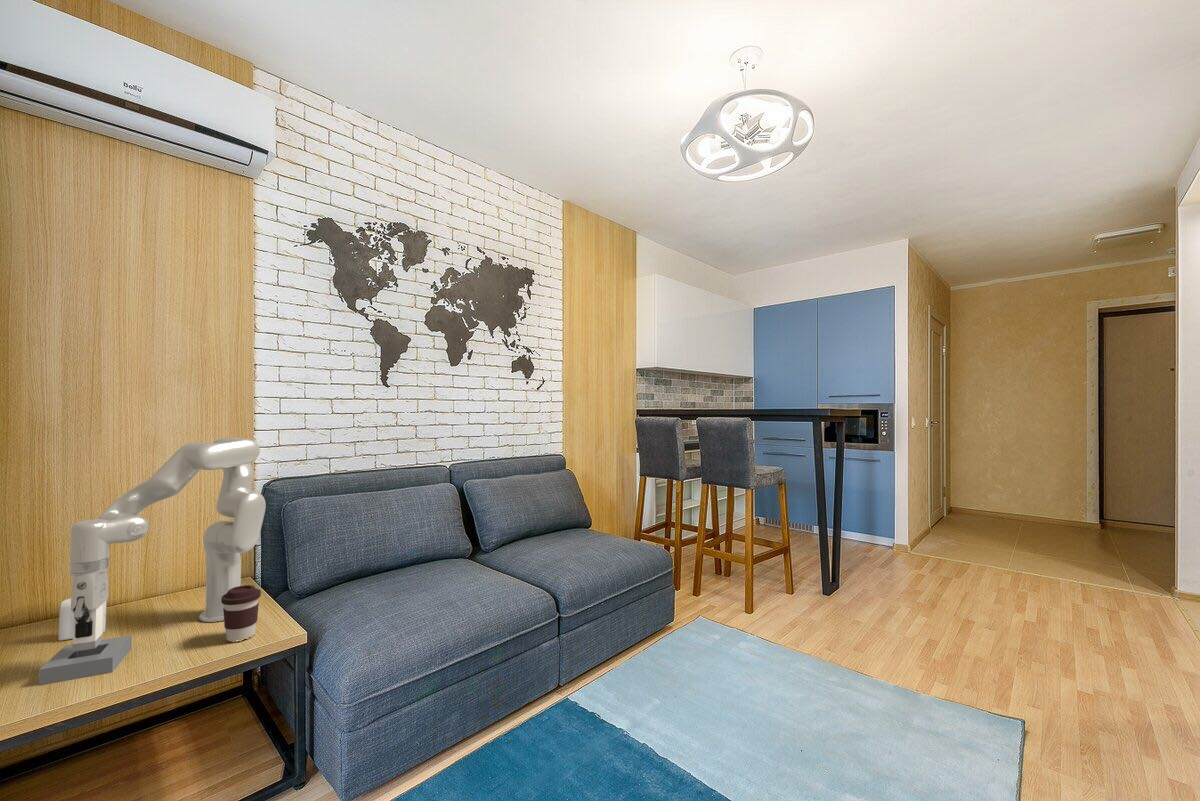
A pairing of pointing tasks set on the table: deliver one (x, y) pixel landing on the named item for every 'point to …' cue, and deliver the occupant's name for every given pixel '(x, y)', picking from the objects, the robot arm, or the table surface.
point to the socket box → (85, 661)
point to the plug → (96, 635)
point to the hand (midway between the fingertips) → (88, 632)
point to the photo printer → (67, 620)
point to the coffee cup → (240, 612)
